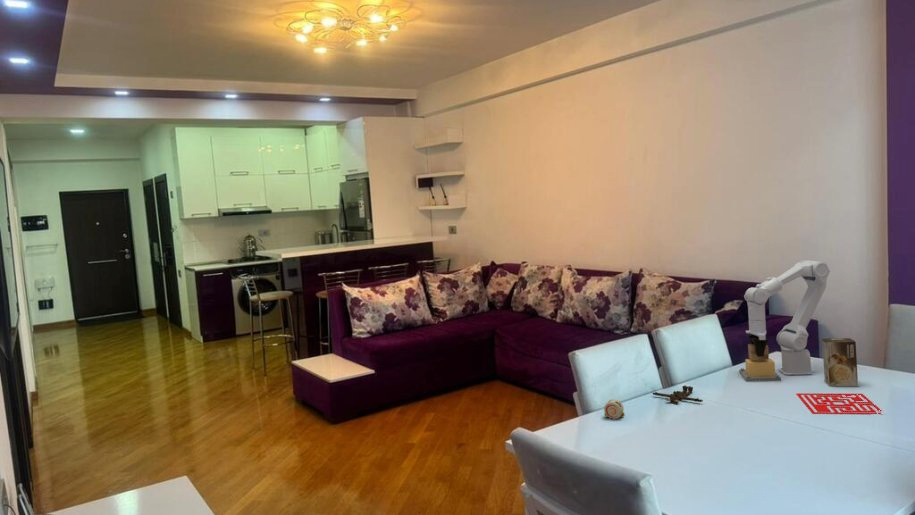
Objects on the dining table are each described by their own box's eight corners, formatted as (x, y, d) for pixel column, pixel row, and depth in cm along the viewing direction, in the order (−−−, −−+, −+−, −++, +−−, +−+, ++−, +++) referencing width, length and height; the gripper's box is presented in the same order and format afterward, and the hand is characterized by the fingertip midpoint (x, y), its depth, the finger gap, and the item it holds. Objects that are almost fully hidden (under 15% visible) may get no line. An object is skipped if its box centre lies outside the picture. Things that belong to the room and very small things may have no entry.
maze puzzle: (885, 416, 188) (885, 413, 188) (812, 415, 193) (812, 413, 193) (862, 395, 207) (862, 393, 207) (796, 395, 212) (796, 393, 212)
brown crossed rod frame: (713, 388, 217) (697, 396, 206) (713, 400, 217) (697, 408, 206) (664, 381, 229) (646, 388, 219) (664, 393, 229) (646, 400, 219)
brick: (771, 371, 236) (770, 358, 236) (775, 375, 231) (774, 362, 230) (745, 371, 238) (745, 359, 238) (749, 375, 233) (748, 362, 232)
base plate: (772, 372, 239) (772, 367, 239) (781, 380, 227) (781, 376, 227) (739, 372, 242) (738, 368, 242) (746, 381, 230) (746, 376, 230)
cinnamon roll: (606, 414, 208) (605, 397, 207) (625, 415, 205) (624, 399, 204) (603, 418, 204) (602, 401, 203) (622, 420, 201) (621, 403, 201)
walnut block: (765, 356, 236) (765, 343, 235) (768, 359, 231) (768, 346, 231) (748, 356, 237) (748, 344, 237) (751, 359, 233) (750, 346, 232)
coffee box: (852, 381, 220) (851, 337, 219) (858, 387, 214) (856, 341, 213) (823, 381, 223) (821, 338, 222) (828, 386, 217) (826, 342, 216)
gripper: (741, 316, 241) (742, 350, 242) (750, 323, 227) (751, 359, 228) (760, 315, 239) (762, 349, 240) (771, 322, 225) (772, 359, 226)
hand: (758, 354), depth 234 cm, fingers closed on walnut block, 4 cm apart
